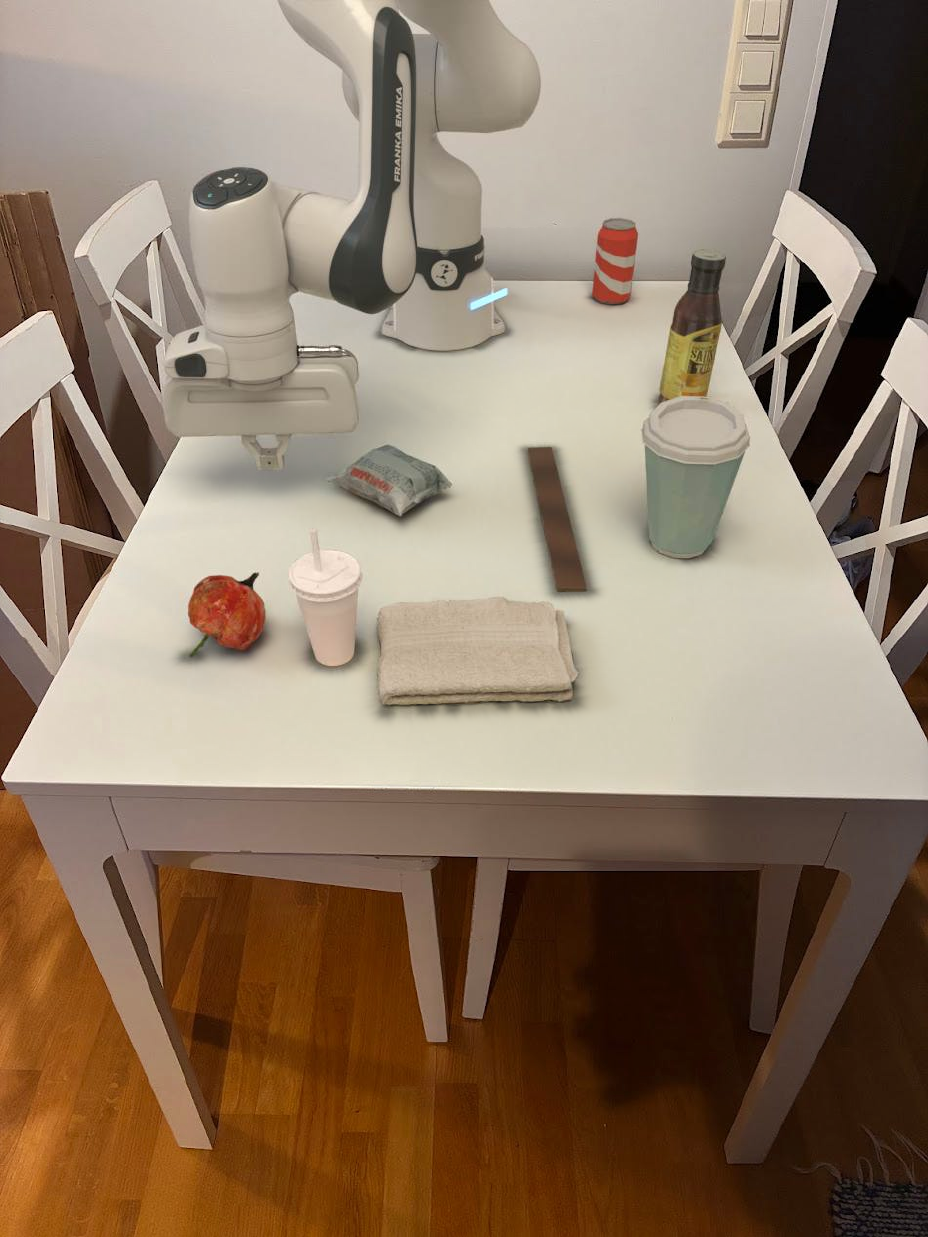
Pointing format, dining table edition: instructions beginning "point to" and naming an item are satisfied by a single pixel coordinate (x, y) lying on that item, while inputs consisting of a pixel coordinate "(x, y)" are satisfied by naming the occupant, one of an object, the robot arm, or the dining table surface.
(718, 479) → the disposable coffee cup
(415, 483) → the packaged food
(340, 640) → the smoothie
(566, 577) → the ruler
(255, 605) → the pomegranate
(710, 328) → the sauce bottle
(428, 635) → the washcloth
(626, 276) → the beverage can
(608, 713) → the dining table surface
